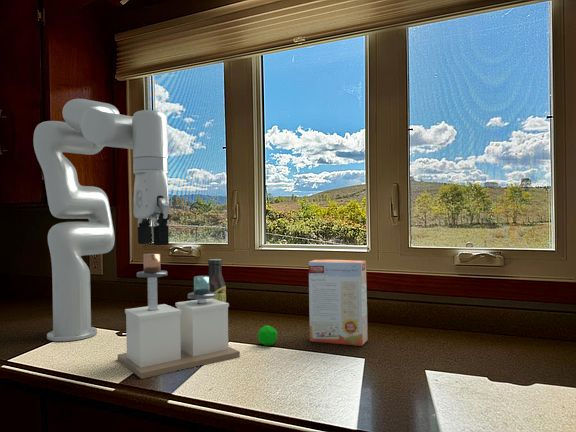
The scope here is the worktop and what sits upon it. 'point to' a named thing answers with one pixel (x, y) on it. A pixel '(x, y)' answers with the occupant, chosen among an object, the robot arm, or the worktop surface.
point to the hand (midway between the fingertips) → (152, 244)
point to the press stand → (176, 337)
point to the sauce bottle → (216, 279)
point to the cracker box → (338, 301)
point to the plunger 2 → (201, 290)
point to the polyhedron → (267, 335)
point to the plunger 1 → (152, 278)
